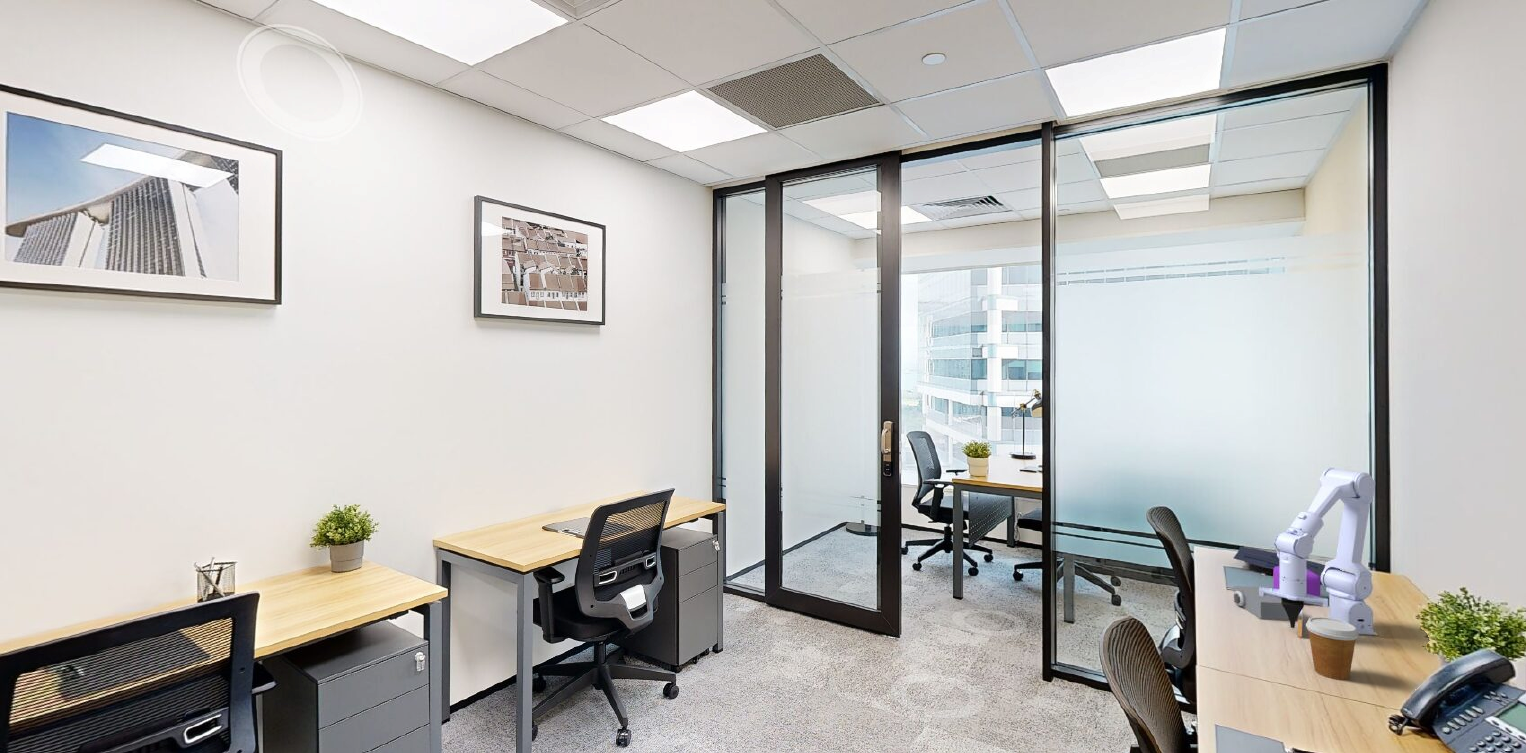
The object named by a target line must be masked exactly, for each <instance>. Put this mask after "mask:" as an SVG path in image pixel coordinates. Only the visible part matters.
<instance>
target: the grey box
mask: <svg viewBox="0 0 1526 753" xmlns="http://www.w3.org/2000/svg"><path fill="white" fill-rule="evenodd" d="M1260 587H1262V588H1271V589H1273V588H1272V587H1268V586H1243V585H1242V586H1240V585H1234V586H1233V602H1234V603H1235V605H1236V606H1238V607H1241V608H1243V609H1244V610H1246V611H1248V612H1249V613H1250V614H1251V615H1253V616H1255V617H1256V618H1258V619H1259V620H1264V621H1265V620H1267V621H1268V620H1271V621H1289V618H1288V615H1287V613H1286V611H1285V609H1284V607H1283V605H1282V603H1281V599H1280V598H1274V597H1268V596H1259V589H1260ZM1289 622H1290V621H1289ZM1296 622H1298V617H1297V620H1296Z"/></svg>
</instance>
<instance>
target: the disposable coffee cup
mask: <svg viewBox="0 0 1526 753" xmlns="http://www.w3.org/2000/svg"><path fill="white" fill-rule="evenodd" d="M1305 627H1306V629H1307V630H1308V636H1309V637H1308V638H1309V642H1310V649H1311V656H1312V661H1313V662H1312V663H1313V667H1314V668H1313V669H1314V671H1315V672H1316V673H1317V674H1318V675H1321V676H1323V677H1327V678H1329V679H1333V680H1339V681H1340V680H1342V681H1343V680H1349V679H1350V675H1351V668H1352V663H1353V658H1354V652H1355V647H1356V646H1355V645H1356V642H1357V641H1356V640H1357V639H1358V637H1359V635H1360V634H1358V632H1357V631H1356V628H1355V627H1354V626H1353V625H1351V624H1349V623H1347V622H1343V621H1340V620H1336V619H1331V618H1329V617H1322V616H1313V617H1309V618H1308V620H1307V622H1306V623H1305Z"/></svg>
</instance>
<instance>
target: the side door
mask: <svg viewBox="0 0 1526 753" xmlns="http://www.w3.org/2000/svg"><path fill="white" fill-rule="evenodd" d="M1303 620H1304V608H1303V609H1302V610H1301V612H1300V614H1299V615H1298V621H1297V637H1299V638H1303V625H1304V624H1303V623H1304V622H1303Z"/></svg>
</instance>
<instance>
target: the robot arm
mask: <svg viewBox="0 0 1526 753" xmlns="http://www.w3.org/2000/svg"><path fill="white" fill-rule="evenodd" d="M1319 485H1320V487H1319V489H1318V492H1317V493H1316V495H1315V497H1314V499H1313V500H1312V502H1311V504H1310V505H1309V508H1308V509H1307V510H1306V511H1301V512H1299V513H1298V514H1297V515H1296V517H1295V518H1294V520H1293V521H1292V523H1291V524H1290V525H1289V527H1287V529H1286V531H1284V532H1281V533H1278V534H1277V535H1276V536H1275V539H1274V542H1273V548H1274V549H1275V551H1276V553H1277V556H1278V558H1279V559H1280V589H1274V588H1272V587H1270V588H1262V587H1263V586H1259V587H1260V589H1259V596H1268V597H1274V598H1280V599H1281V603H1282V605H1283V607H1284V609H1285V611H1286V613H1287V615H1288V618H1289V623H1290V626H1289V627H1290V628H1291V629H1295V628H1296V622H1297V621H1296V620H1297V617H1298V615H1299V614H1300V612H1301V610H1302V609H1303V610H1304V607H1305V604H1304V603H1308V604H1307V605H1316V606H1322V607H1323V608H1327V609H1329V610H1328V612H1329V613H1328V614H1329V615H1328V618H1331V619H1336V620H1340V621H1343V622H1347V623H1349V624H1351V625H1353V626H1354V627H1355V628H1356V631H1357V632H1358V634H1359V635H1371V636H1373V635H1375V636H1377V632H1376V631H1374V612H1373V610H1372V608H1371V606H1369V605H1368V604H1367V603H1366V602H1365V600H1368V598H1369V597H1370V596H1371V595H1372V592H1373V590H1374V587H1373V582H1372V575H1373V574H1372V572H1371V571H1370V570H1369V569H1368V568H1366V566H1365V565H1363V563H1362V559H1363V554H1364V546H1365V542H1366V541H1365V539H1366V533H1367V526H1368V522H1369V521H1368V519H1369V513H1370V509H1371V508H1370V507H1371V503H1373V500H1374V495H1375V489H1376V487H1375V486H1376V481H1375V480H1374V479H1373V477H1372V476H1371V475H1370V474H1369V473H1368V472H1359V471H1353V470H1345V469H1338V468H1334V467H1329V468H1327V469H1324V471H1323V472H1322V473H1321V476H1320V477H1319ZM1339 500H1341V502H1342V503H1343V509H1342V510H1343V511H1342V515H1341V516H1342V517H1341V523H1340V528H1339V529H1340V530H1339V536H1338V543H1337V544H1338V545H1337V549H1336V556H1335V558H1333V559H1331V560H1328V561H1326V562H1325V564H1324V565H1325V568H1324V570H1323V572H1322V574H1321V582H1320V584H1321V585H1322V587H1324V588H1325V589H1326V590H1325V591H1326V592H1327V593H1328V598H1329V599H1328V598H1326V597H1322V596H1320V597H1318V596H1314V595H1310V594H1306V560H1307V558H1308V557H1309V556H1310V555H1311V554H1312V553H1313V549H1314V543H1315V540H1314V539H1316V536H1317V535H1318V534H1319V532H1320V531H1321V529H1322V528H1323V527H1324V524H1325V523H1324V520H1323V518H1324V516H1325V515H1326V514H1328V512H1329V511H1330V510H1331V509H1332V508H1333V506H1334V505H1335V504H1336V503H1337V502H1338V501H1339ZM1340 569H1342V570H1345V571H1342V570H1340ZM1271 588H1272V589H1271Z"/></svg>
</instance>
